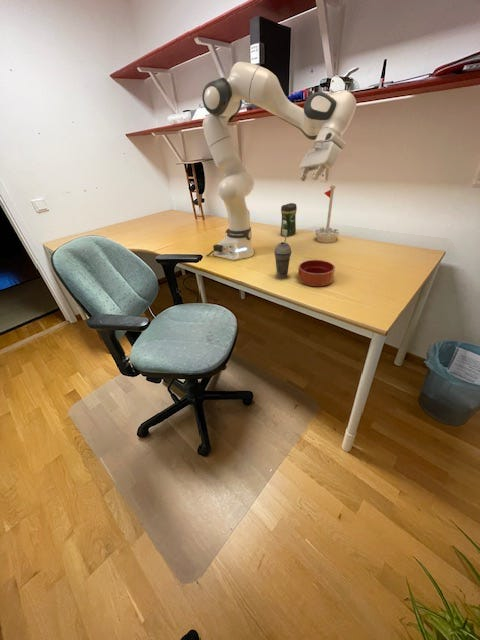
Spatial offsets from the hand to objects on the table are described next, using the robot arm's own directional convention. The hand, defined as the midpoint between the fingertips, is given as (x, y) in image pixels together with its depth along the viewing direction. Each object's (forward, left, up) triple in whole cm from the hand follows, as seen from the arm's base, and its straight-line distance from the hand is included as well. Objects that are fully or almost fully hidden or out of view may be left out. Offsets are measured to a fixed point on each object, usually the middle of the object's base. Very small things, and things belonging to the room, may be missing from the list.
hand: (307, 179), depth 101 cm
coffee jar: (-21, +49, -37) cm, 65 cm away
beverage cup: (-6, -12, -37) cm, 40 cm away
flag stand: (+4, +44, -37) cm, 58 cm away
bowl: (+9, -11, -37) cm, 40 cm away
